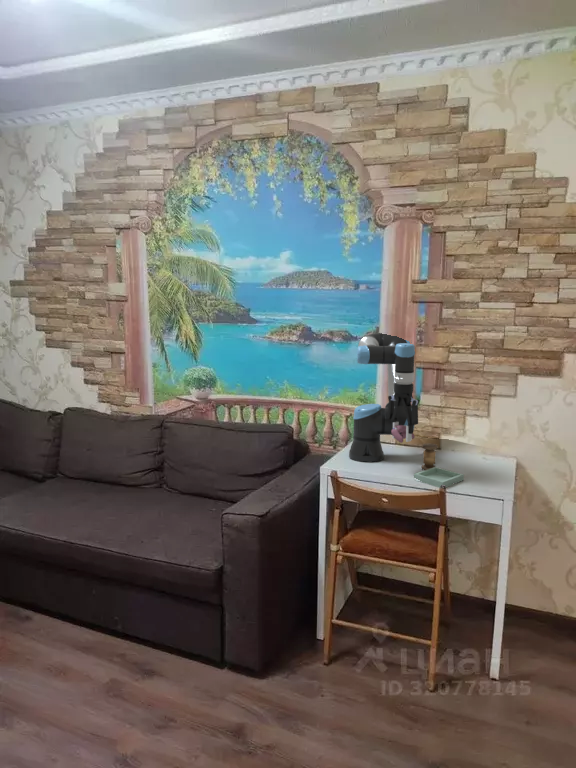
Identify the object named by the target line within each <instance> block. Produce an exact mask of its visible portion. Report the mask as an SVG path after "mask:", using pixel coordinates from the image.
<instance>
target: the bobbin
mask: <svg viewBox="0 0 576 768" xmlns="http://www.w3.org/2000/svg"><path fill="white" fill-rule="evenodd" d="M421 447H422V449H424V450H423V457H422V458H423V459H422V460H423V461H422V463H423V464H422V465H421V468H422V469H424V470H427V469H430V468H433V467H437V466H436V465H435V464H436V455H437V454H436V453H437V452H436V450H437V449H438V444H435V443H423V444H422V445H421ZM422 469H421V470H422ZM424 470H423V471H424Z"/></svg>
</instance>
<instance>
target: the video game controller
mask: <svg viewBox="0 0 576 768" xmlns="http://www.w3.org/2000/svg"><path fill="white" fill-rule="evenodd" d="M391 432H392V435H391V436H394V437H395V438H394V440H396V441H397V442H398V443H401V444H402V443H403V442H404V440H406V425H398V426H396V427H394V428H393V429H392V431H391ZM399 433H401V435H400V434H399ZM414 439H415V434H414V432H413V433H412V440H414Z"/></svg>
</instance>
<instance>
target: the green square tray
mask: <svg viewBox="0 0 576 768" xmlns="http://www.w3.org/2000/svg"><path fill="white" fill-rule="evenodd" d="M464 476H465V474H463V473H459V472H455V471H453V470H449V469H445V468H441V467H437V466H436V467H433V468H430V469H427V470H422V471H419V472H416V473H414V474H413V479H414V478H416V479H418V480H420V481H422V482H421V483H423V484H427V485H429V486H433V487H436V488H440V486H441V485H445V486H446V487H445V488H447V487H450V486H453V485H454V484H453V483H456V482H458V483H460V482H459V481H461V482H463V481H462V480H464V479H465V477H464ZM452 484H453V485H452ZM456 484H457V483H456ZM440 489H441V488H440Z"/></svg>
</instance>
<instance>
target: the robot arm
mask: <svg viewBox="0 0 576 768" xmlns="http://www.w3.org/2000/svg"><path fill="white" fill-rule="evenodd" d="M382 333H383V332H374V333H371V334H370V333H369V334H367V335H365V336H363V337H362V338H361V339H359V341H358V344H357V345H358V346H357V355H356V357H357V358H356V359H357V360H356V361H357V364H359V365H387V388H388V389H387V392H388V396H387V398H388V399H387V400H388V402H387V403H386V404H385V407H382V406H381V404H378V403H368V404H367V403H366V404H361V405H359V406H356V407H355V409H354V411H353V418H352V419H353V439H352V443H351V445H350V449H349V451H348V457H349V458H350V459H351V460H353V459H354V461H356V460H359V461H358V462H362V461H369V462H368V463H373V462H372V461H375V462H381V461H382V460H383V459H384V456H385V453H384V450H383V445H382V443H381V435H383V436H392V437H391V438H392V439H395V437H394V436H393V435H392V432H391V431H392V429H393V428H394V427H396V426H398V425H406V438H405V442H406V443H408V442H412V440H413V439H412V433H413V434H414V431H415V425H419V403H420V400H419V399H415V398H414V396H413V393H414V381H415V369H414V368H415V357H416V356H415V355H416V351H415V349H416V347H415V344H414V343H412V344H410V342H409V341H407V340H404V339H402V338H399V337H397V336H391V335H387V334H382ZM399 434H400V435H401V433H399ZM370 461H371V462H370Z"/></svg>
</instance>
